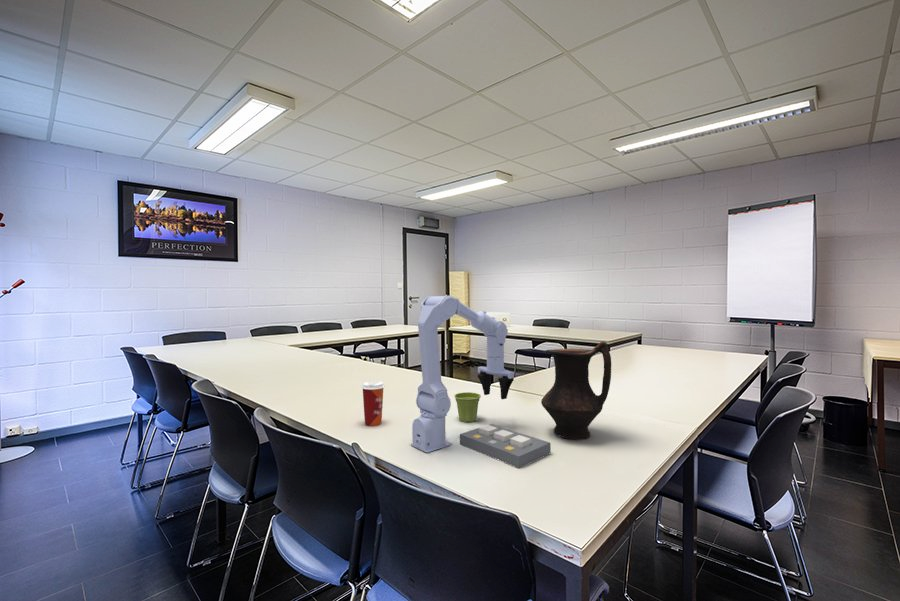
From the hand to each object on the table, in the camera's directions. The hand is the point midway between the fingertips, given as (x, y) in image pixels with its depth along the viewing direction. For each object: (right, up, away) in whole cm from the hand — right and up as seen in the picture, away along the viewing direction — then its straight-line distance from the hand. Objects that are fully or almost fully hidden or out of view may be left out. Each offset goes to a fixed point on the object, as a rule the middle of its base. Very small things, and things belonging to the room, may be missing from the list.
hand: (495, 396), depth 132 cm
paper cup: (-42, -10, +3) cm, 43 cm away
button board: (0, -10, -20) cm, 22 cm away
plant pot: (-9, -10, +7) cm, 15 cm away
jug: (+24, -10, -9) cm, 28 cm away
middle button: (0, -9, -20) cm, 22 cm away
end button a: (-4, -9, -15) cm, 18 cm away
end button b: (+4, -9, -24) cm, 26 cm away
